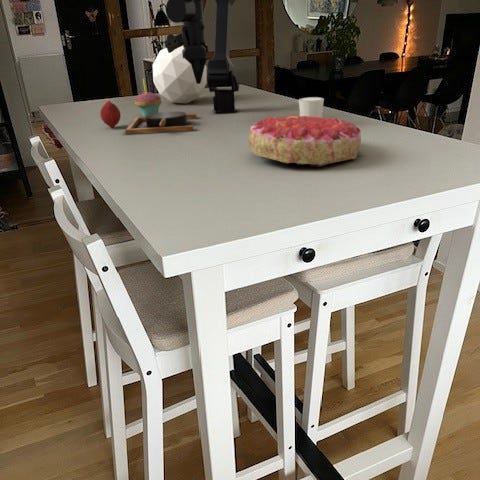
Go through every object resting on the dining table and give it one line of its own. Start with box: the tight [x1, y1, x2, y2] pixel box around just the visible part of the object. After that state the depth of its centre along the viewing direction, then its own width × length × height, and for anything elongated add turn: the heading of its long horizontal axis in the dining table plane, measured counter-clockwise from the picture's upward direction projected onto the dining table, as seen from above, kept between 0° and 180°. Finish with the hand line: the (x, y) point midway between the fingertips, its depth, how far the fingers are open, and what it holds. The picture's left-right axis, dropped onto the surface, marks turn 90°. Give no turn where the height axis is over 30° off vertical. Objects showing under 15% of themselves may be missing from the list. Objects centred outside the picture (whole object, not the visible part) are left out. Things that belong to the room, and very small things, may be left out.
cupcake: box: [134, 76, 162, 117], centre depth 167 cm, size 9×8×12 cm
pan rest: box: [125, 113, 198, 135], centre depth 155 cm, size 19×19×1 cm
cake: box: [247, 115, 362, 168], centre depth 115 cm, size 25×25×8 cm
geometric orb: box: [152, 46, 208, 105], centre depth 186 cm, size 19×20×20 cm
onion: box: [99, 98, 121, 129], centre depth 154 cm, size 6×6×8 cm
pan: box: [145, 110, 188, 128], centre depth 151 cm, size 12×20×3 cm, turn 2°
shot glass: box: [298, 96, 325, 118], centre depth 142 cm, size 7×7×7 cm
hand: (198, 83), depth 149 cm, fingers closed
